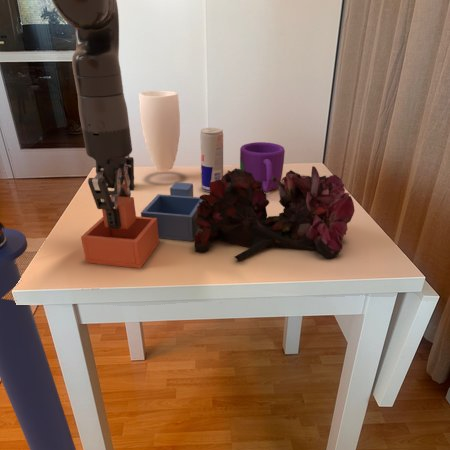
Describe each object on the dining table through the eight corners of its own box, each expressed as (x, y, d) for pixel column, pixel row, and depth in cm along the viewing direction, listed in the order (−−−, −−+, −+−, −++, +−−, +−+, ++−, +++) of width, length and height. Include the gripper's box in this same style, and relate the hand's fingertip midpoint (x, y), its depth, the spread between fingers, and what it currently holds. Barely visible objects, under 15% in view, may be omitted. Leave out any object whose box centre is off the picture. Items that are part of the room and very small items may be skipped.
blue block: (171, 206, 100) (169, 188, 98) (176, 199, 104) (175, 182, 102) (188, 207, 100) (188, 189, 97) (193, 200, 103) (192, 183, 101)
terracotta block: (104, 227, 76) (100, 204, 74) (114, 217, 80) (111, 195, 77) (127, 229, 76) (124, 206, 73) (136, 219, 79) (133, 197, 77)
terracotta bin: (86, 262, 78) (80, 236, 75) (110, 237, 86) (106, 213, 83) (140, 268, 76) (137, 242, 73) (159, 242, 85) (157, 218, 82)
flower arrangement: (193, 262, 78) (190, 183, 69) (197, 219, 94) (194, 150, 86) (360, 261, 78) (377, 182, 70) (335, 218, 95) (346, 150, 86)
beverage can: (220, 185, 113) (220, 126, 104) (225, 192, 108) (225, 131, 100) (200, 186, 112) (198, 127, 103) (203, 194, 107) (202, 132, 99)
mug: (236, 179, 117) (237, 142, 111) (276, 178, 118) (279, 141, 112) (246, 202, 102) (247, 161, 97) (291, 200, 104) (295, 159, 98)
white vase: (185, 183, 114) (180, 96, 102) (146, 185, 112) (136, 97, 100) (182, 171, 122) (177, 89, 110) (146, 173, 121) (137, 90, 109)
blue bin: (143, 236, 87) (140, 212, 84) (159, 216, 95) (157, 194, 92) (193, 241, 85) (191, 216, 82) (205, 220, 94) (204, 197, 91)
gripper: (102, 114, 74) (117, 206, 84) (61, 133, 63) (83, 237, 72) (143, 116, 73) (152, 209, 83) (108, 135, 62) (124, 241, 71)
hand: (120, 221), depth 78 cm, fingers closed on terracotta block, 4 cm apart
